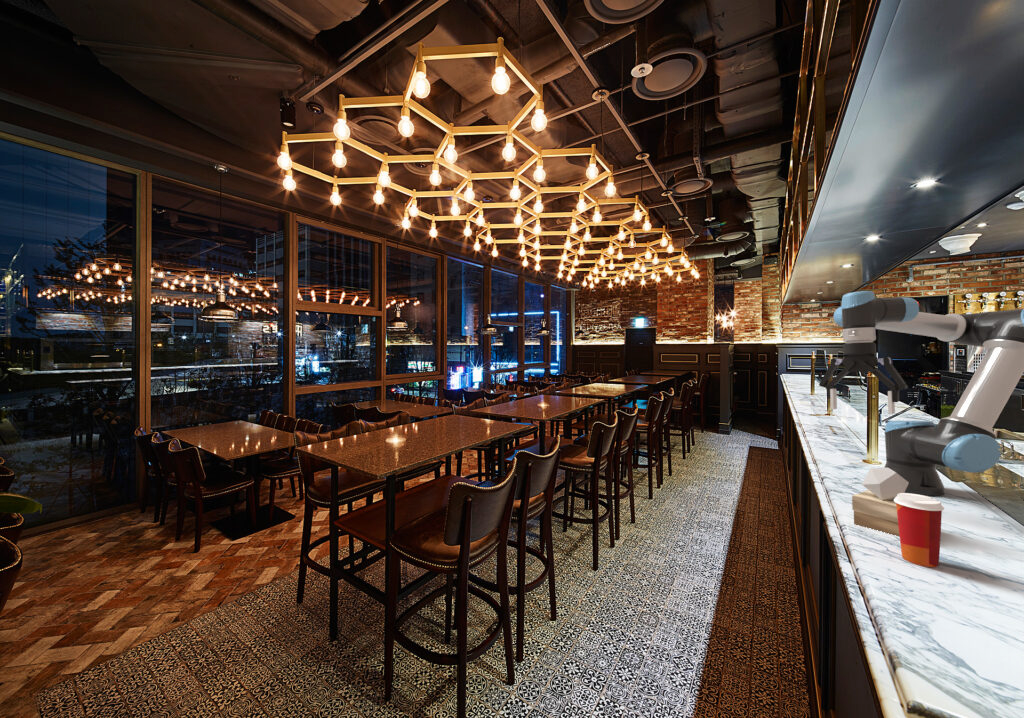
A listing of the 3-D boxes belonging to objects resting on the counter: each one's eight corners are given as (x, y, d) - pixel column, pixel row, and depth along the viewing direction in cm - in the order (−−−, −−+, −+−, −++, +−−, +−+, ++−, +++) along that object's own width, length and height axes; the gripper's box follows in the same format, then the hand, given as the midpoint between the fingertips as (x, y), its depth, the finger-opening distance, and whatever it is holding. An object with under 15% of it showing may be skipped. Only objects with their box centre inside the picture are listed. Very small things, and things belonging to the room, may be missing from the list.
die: (914, 509, 96) (919, 474, 99) (879, 491, 98) (886, 457, 101) (883, 508, 104) (889, 476, 107) (852, 492, 105) (859, 460, 108)
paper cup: (930, 554, 87) (928, 493, 87) (956, 572, 80) (953, 506, 80) (886, 550, 90) (885, 490, 90) (908, 567, 83) (906, 502, 83)
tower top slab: (871, 502, 109) (871, 488, 109) (925, 516, 100) (925, 501, 100) (852, 510, 105) (852, 495, 105) (907, 525, 95) (906, 509, 95)
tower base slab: (869, 516, 110) (868, 502, 110) (924, 530, 100) (923, 515, 100) (854, 525, 104) (853, 511, 104) (911, 541, 95) (910, 525, 95)
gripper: (805, 344, 126) (807, 408, 126) (913, 339, 105) (915, 416, 105) (815, 344, 130) (817, 406, 130) (920, 339, 109) (923, 414, 109)
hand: (861, 411), depth 117 cm, fingers open, 13 cm apart
